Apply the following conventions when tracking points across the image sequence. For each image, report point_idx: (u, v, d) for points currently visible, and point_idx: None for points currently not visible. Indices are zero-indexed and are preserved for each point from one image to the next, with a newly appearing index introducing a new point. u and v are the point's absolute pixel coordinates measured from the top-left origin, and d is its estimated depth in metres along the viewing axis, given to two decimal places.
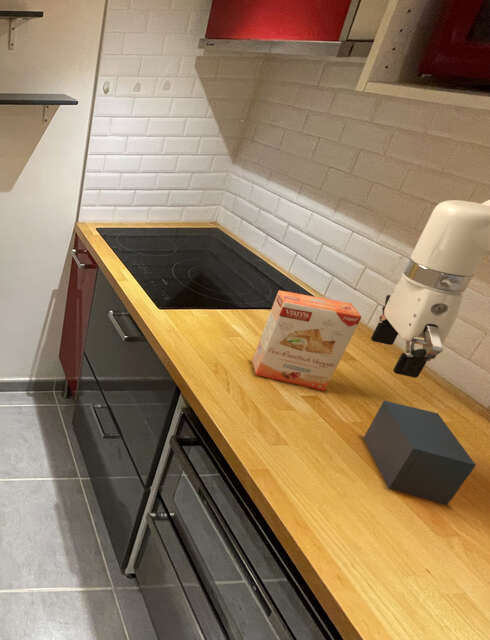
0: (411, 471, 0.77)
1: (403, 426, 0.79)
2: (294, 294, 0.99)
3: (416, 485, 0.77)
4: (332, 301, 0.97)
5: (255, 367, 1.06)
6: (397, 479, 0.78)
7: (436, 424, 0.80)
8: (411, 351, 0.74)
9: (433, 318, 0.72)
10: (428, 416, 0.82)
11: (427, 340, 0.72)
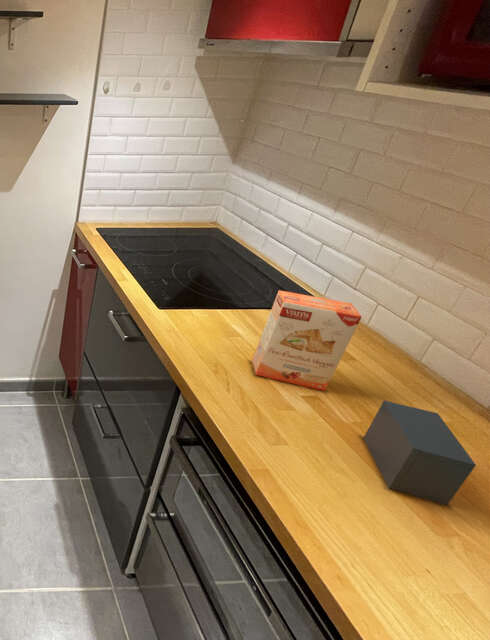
0: (411, 471, 0.77)
1: (403, 426, 0.79)
2: (294, 294, 0.99)
3: (416, 485, 0.77)
4: (332, 301, 0.97)
5: (255, 367, 1.06)
6: (397, 479, 0.78)
7: (436, 424, 0.80)
8: None
9: None
10: (428, 416, 0.82)
11: None
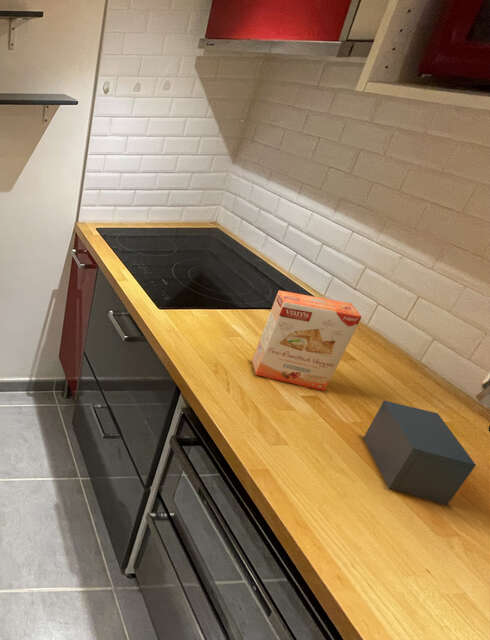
0: (411, 471, 0.77)
1: (403, 426, 0.79)
2: (294, 294, 0.99)
3: (416, 485, 0.77)
4: (332, 301, 0.97)
5: (255, 367, 1.06)
6: (397, 479, 0.78)
7: (436, 424, 0.80)
8: None
9: None
10: (428, 416, 0.82)
11: None
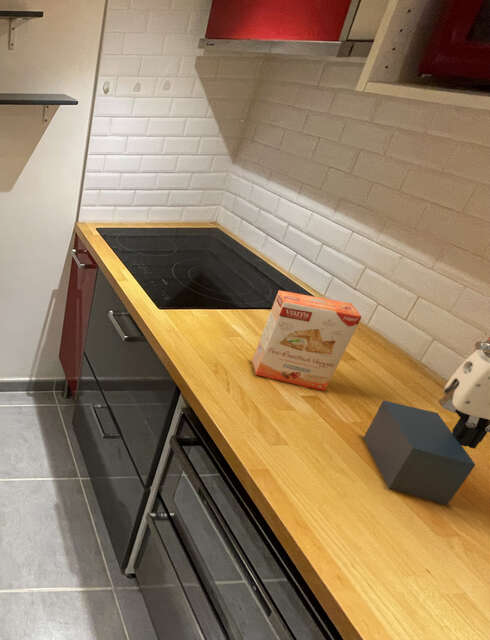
0: (411, 471, 0.77)
1: (402, 426, 0.79)
2: (294, 294, 0.99)
3: (416, 485, 0.77)
4: (332, 301, 0.97)
5: (255, 367, 1.06)
6: (397, 479, 0.78)
7: (436, 424, 0.80)
8: None
9: (460, 374, 0.74)
10: (428, 415, 0.82)
11: None
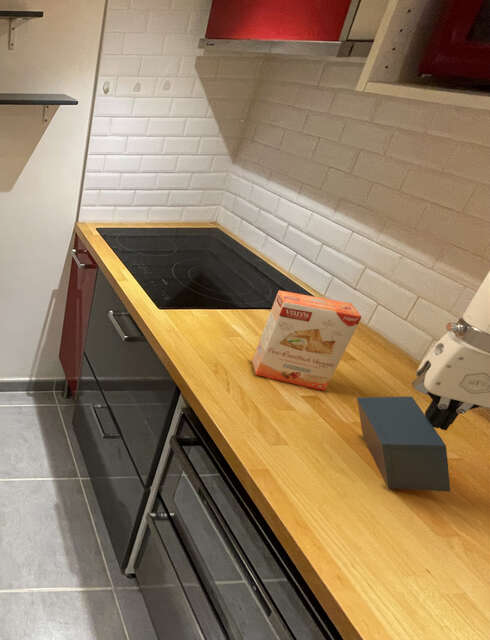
0: (396, 466, 0.77)
1: (374, 421, 0.81)
2: (294, 294, 0.99)
3: (409, 479, 0.77)
4: (332, 301, 0.97)
5: (255, 367, 1.06)
6: (389, 477, 0.78)
7: (409, 409, 0.81)
8: None
9: (432, 356, 0.74)
10: (401, 402, 0.83)
11: None
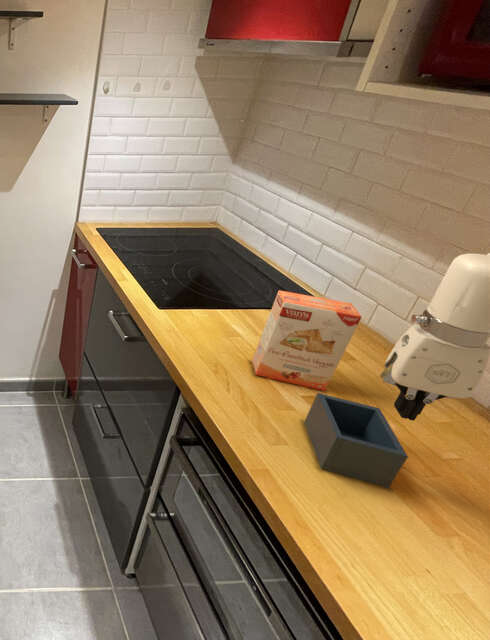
0: (356, 472, 0.80)
1: (313, 444, 0.87)
2: (294, 294, 0.99)
3: (378, 471, 0.79)
4: (332, 301, 0.97)
5: (255, 367, 1.06)
6: (371, 481, 0.80)
7: (319, 411, 0.87)
8: None
9: (398, 347, 0.76)
10: (316, 405, 0.89)
11: None
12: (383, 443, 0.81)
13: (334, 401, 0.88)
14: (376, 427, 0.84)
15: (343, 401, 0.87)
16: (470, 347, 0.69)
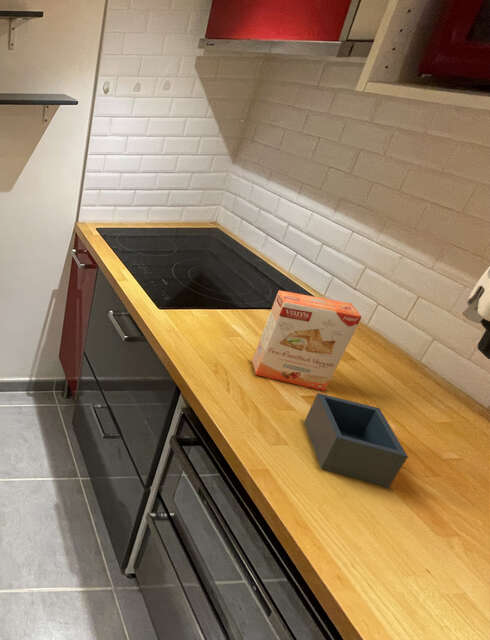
0: (356, 472, 0.80)
1: (313, 444, 0.87)
2: (294, 294, 0.99)
3: (378, 471, 0.79)
4: (332, 301, 0.97)
5: (255, 367, 1.06)
6: (371, 481, 0.80)
7: (319, 411, 0.87)
8: None
9: (485, 280, 0.70)
10: (316, 405, 0.89)
11: None
12: (383, 443, 0.81)
13: (334, 401, 0.88)
14: (376, 427, 0.84)
15: (343, 401, 0.87)
16: None
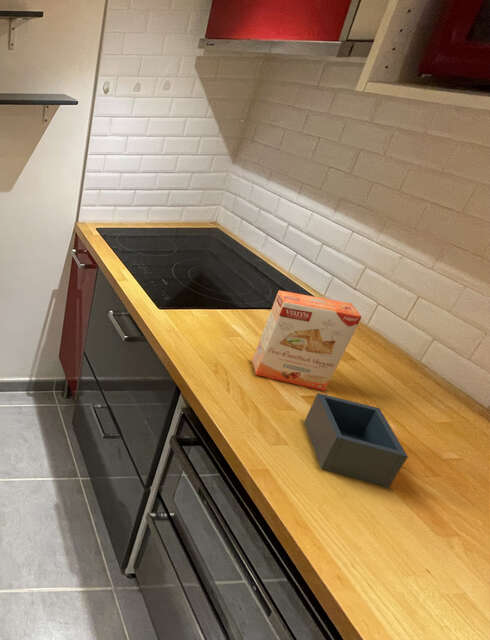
0: (356, 472, 0.80)
1: (313, 444, 0.87)
2: (294, 294, 0.99)
3: (378, 471, 0.79)
4: (332, 301, 0.97)
5: (255, 367, 1.06)
6: (371, 481, 0.80)
7: (319, 411, 0.87)
8: None
9: None
10: (316, 405, 0.89)
11: None
12: (383, 443, 0.81)
13: (334, 401, 0.88)
14: (376, 427, 0.84)
15: (343, 401, 0.87)
16: None
